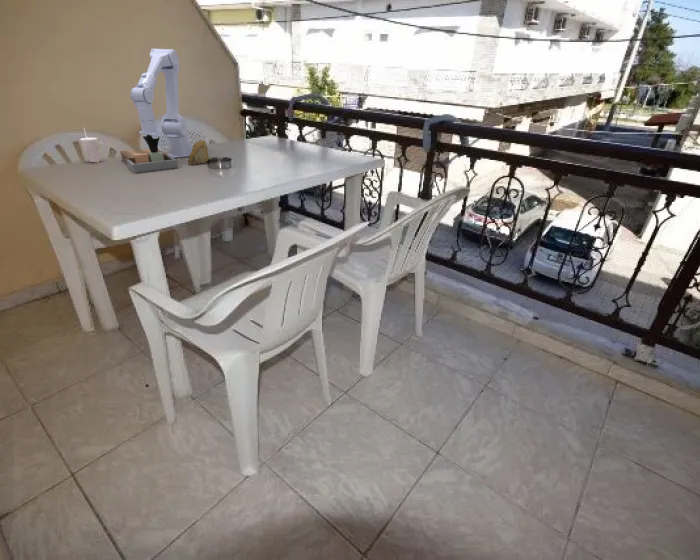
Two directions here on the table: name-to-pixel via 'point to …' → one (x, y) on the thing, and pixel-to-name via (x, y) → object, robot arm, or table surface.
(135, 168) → the box
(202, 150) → the rock
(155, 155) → the sage tile
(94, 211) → the table surface
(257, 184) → the table surface
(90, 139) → the smoothie
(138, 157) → the terracotta tile
